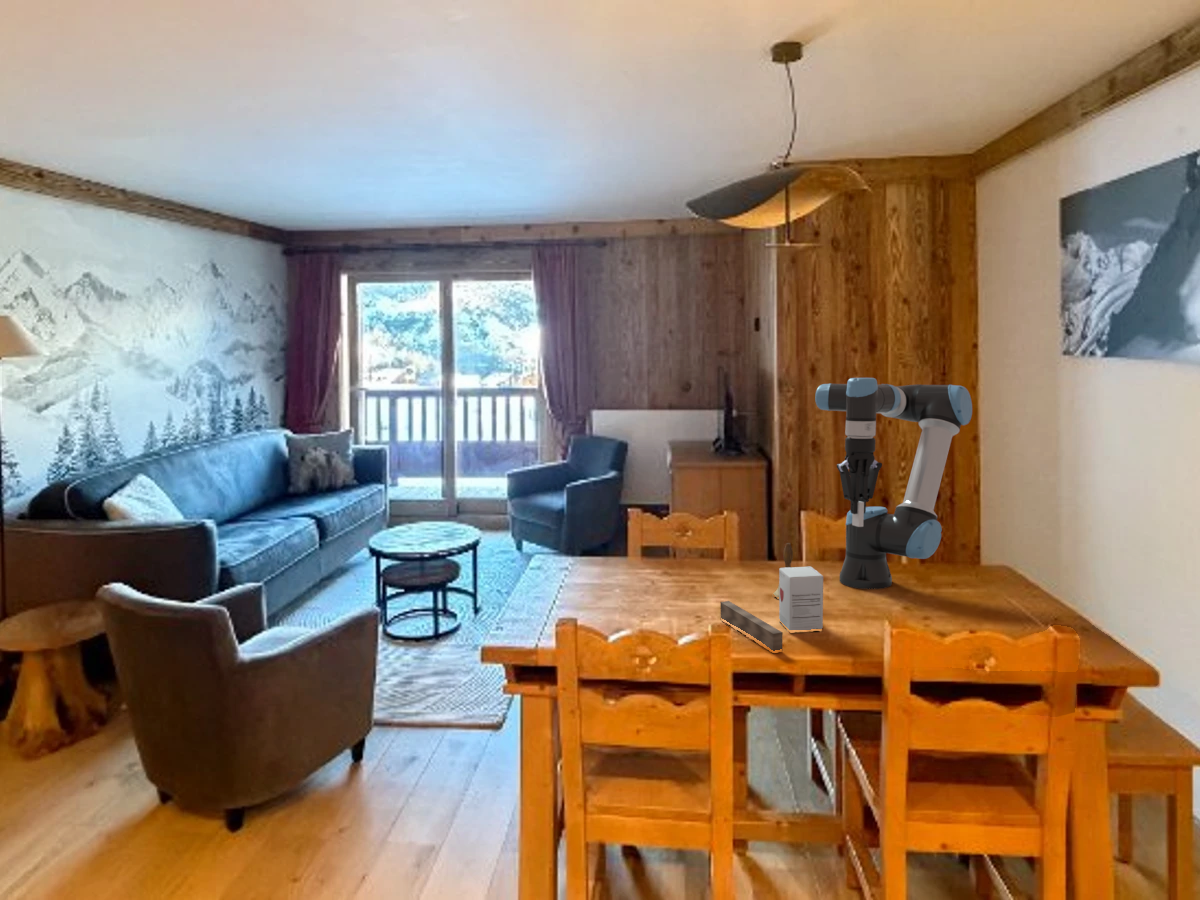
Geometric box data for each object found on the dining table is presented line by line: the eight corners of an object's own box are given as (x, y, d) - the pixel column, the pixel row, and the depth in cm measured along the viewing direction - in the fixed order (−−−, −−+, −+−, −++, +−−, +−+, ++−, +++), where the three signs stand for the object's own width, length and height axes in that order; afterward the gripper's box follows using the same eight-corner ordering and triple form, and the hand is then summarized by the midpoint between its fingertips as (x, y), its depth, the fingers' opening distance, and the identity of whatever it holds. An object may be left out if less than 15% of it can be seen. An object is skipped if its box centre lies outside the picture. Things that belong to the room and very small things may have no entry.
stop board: (720, 620, 214) (720, 602, 213) (728, 618, 215) (728, 600, 214) (773, 654, 190) (773, 633, 189) (782, 652, 191) (782, 632, 190)
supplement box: (778, 622, 211) (778, 567, 210) (811, 620, 212) (811, 565, 210) (789, 634, 202) (789, 576, 201) (823, 632, 203) (824, 575, 201)
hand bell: (804, 594, 234) (804, 541, 232) (798, 602, 227) (799, 547, 225) (776, 591, 238) (776, 538, 236) (769, 599, 231) (769, 545, 228)
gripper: (848, 439, 203) (846, 530, 206) (890, 437, 208) (887, 526, 210) (830, 436, 210) (828, 524, 213) (871, 434, 215) (868, 521, 217)
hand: (857, 525), depth 211 cm, fingers closed
